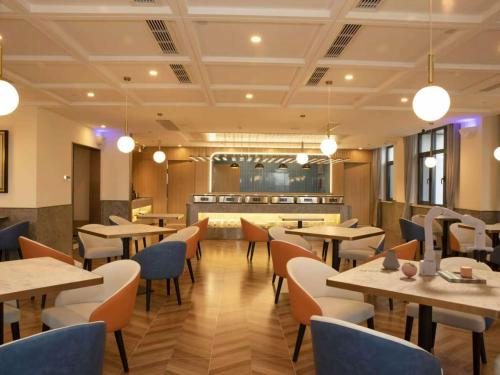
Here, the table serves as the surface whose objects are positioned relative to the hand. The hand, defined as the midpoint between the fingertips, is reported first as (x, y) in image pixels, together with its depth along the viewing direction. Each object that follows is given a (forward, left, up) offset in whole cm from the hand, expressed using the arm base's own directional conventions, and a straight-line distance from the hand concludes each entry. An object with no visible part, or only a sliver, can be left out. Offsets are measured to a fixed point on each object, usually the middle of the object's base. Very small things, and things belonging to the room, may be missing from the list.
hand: (479, 262), depth 242 cm
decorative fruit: (-42, -5, -11) cm, 43 cm away
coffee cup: (-17, +32, -11) cm, 38 cm away
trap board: (-11, 0, -10) cm, 15 cm away
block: (-8, 0, -8) cm, 11 cm away
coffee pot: (-53, +22, -11) cm, 58 cm away
